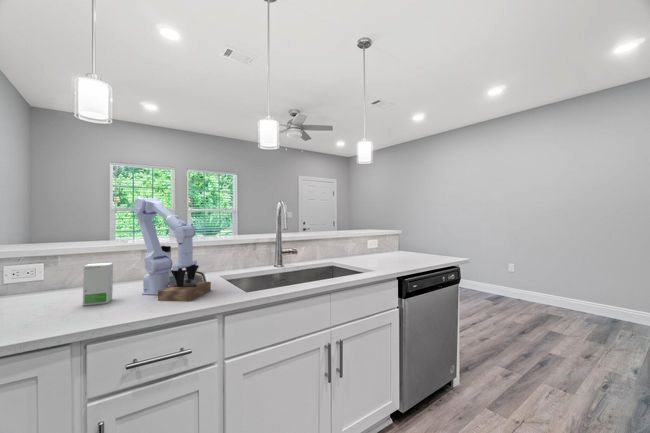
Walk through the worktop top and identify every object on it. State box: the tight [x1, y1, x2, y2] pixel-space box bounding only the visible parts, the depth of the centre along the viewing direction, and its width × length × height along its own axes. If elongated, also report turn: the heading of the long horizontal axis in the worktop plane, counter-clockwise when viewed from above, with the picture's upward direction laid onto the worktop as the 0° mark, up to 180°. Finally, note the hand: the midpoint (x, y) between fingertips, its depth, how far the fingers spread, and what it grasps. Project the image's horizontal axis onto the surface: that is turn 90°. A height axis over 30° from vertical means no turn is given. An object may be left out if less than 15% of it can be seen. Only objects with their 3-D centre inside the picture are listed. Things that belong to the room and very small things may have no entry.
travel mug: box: [160, 245, 172, 285], centre depth 137 cm, size 6×7×20 cm
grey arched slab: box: [169, 269, 208, 286], centre depth 131 cm, size 17×5×10 cm, turn 95°
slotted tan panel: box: [157, 281, 212, 302], centre depth 118 cm, size 14×16×4 cm
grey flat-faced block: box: [176, 279, 196, 287], centre depth 118 cm, size 8×2×7 cm, turn 84°
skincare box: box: [82, 262, 114, 307], centre depth 109 cm, size 8×7×16 cm
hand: (185, 283), depth 118 cm, fingers open, 7 cm apart
